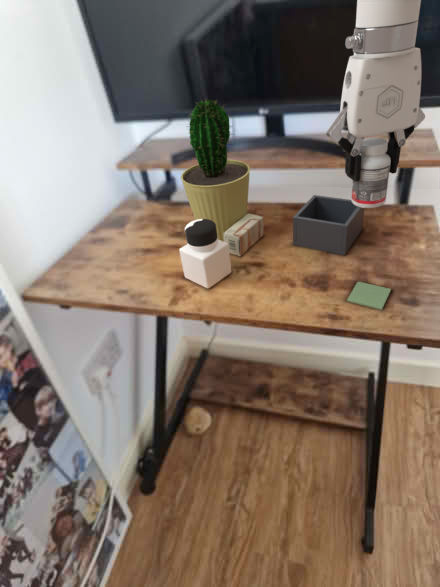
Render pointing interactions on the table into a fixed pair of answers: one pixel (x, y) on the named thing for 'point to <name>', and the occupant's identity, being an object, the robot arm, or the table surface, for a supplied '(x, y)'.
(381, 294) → the mat
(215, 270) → the medicine bottle
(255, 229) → the small printed carton
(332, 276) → the table surface
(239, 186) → the potted cactus
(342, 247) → the tub
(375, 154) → the pill bottle
